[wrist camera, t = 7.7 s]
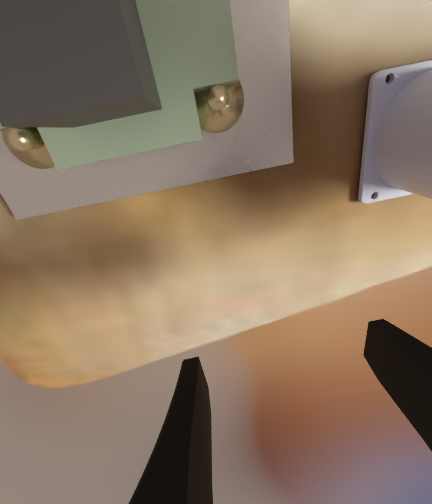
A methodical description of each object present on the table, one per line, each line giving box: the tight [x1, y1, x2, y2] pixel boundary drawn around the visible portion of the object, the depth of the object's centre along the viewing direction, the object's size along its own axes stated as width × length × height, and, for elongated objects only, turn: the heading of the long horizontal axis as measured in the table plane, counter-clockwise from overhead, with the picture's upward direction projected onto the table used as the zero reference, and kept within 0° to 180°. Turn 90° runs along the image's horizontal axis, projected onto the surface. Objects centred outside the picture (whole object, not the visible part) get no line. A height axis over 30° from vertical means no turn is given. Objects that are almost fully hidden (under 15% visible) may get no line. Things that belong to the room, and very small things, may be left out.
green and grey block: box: [0, 0, 239, 169], centre depth 8 cm, size 11×8×6 cm
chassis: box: [0, 0, 293, 220], centre depth 11 cm, size 18×14×4 cm
